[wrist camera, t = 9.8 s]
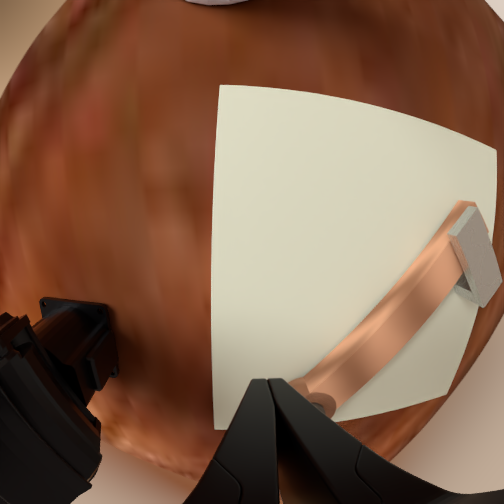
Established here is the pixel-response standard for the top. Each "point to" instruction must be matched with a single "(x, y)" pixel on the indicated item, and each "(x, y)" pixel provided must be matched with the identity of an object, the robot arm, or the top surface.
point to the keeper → (474, 258)
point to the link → (387, 323)
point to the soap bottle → (215, 2)
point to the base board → (331, 239)
